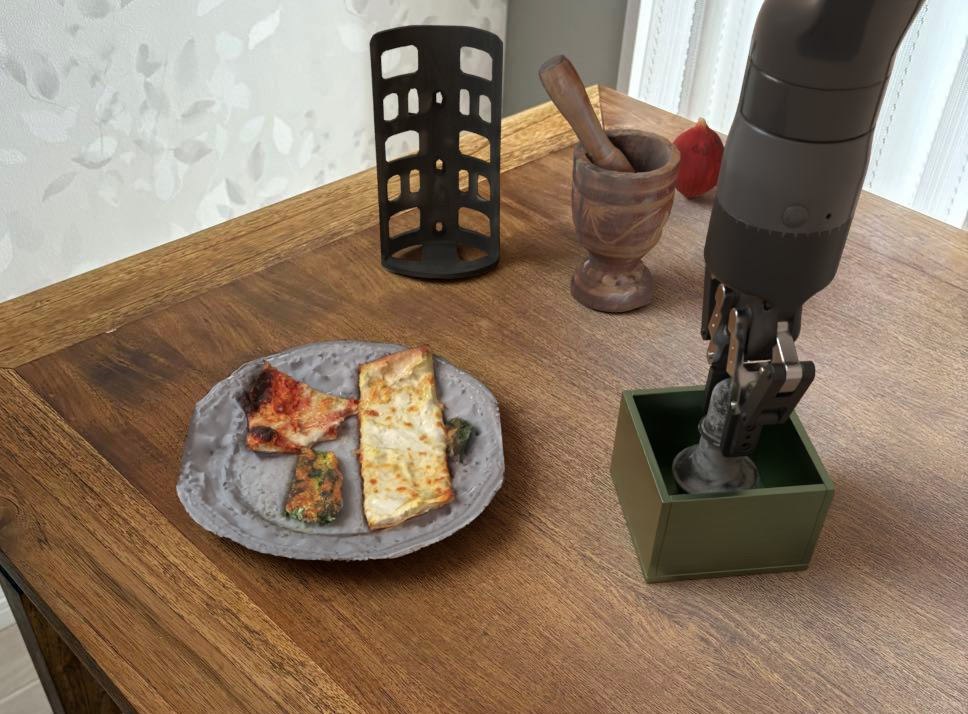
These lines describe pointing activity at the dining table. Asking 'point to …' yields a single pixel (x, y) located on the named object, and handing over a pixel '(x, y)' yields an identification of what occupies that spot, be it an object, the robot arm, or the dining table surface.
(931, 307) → the dining table surface
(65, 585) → the dining table surface
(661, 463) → the box
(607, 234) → the mortar and pestle
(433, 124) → the holder
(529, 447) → the dining table surface
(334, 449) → the food plate
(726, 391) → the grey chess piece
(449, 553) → the dining table surface
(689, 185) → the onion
